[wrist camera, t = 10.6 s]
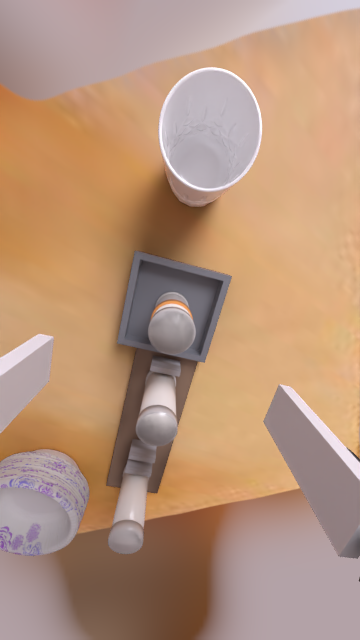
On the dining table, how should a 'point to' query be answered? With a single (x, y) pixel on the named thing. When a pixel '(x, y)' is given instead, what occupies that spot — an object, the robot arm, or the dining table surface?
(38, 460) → the white purple floral bowl
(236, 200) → the dining table surface
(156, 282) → the tray
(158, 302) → the cylinder
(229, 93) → the white cup
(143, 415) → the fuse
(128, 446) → the clip rail
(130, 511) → the cylinder
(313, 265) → the dining table surface
